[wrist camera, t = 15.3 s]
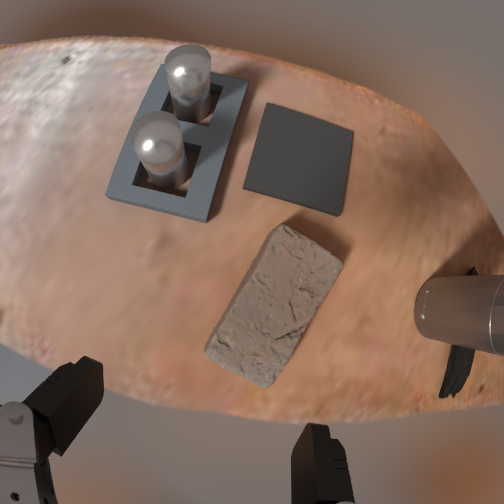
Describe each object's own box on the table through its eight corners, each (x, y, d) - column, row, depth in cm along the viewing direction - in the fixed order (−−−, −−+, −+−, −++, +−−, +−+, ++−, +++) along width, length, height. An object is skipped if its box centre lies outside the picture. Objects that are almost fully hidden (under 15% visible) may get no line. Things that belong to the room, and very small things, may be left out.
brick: (262, 381, 34) (270, 395, 29) (200, 349, 33) (199, 360, 28) (330, 261, 36) (347, 259, 31) (272, 225, 35) (281, 218, 31)
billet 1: (193, 157, 34) (187, 115, 24) (182, 193, 34) (171, 160, 24) (157, 150, 34) (140, 107, 24) (145, 185, 33) (122, 151, 23)
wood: (461, 395, 38) (473, 399, 35) (435, 400, 37) (446, 406, 34) (483, 270, 40) (495, 269, 37) (458, 264, 39) (471, 263, 36)
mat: (349, 134, 37) (352, 131, 36) (337, 216, 36) (340, 215, 35) (265, 106, 36) (266, 102, 35) (242, 188, 35) (243, 186, 34)
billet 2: (213, 97, 35) (215, 47, 25) (204, 125, 35) (203, 79, 25) (180, 91, 35) (173, 42, 25) (169, 120, 34) (158, 73, 24)
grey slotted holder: (247, 89, 36) (249, 80, 34) (206, 223, 34) (205, 220, 32) (162, 72, 34) (161, 63, 32) (110, 199, 32) (105, 195, 30)
